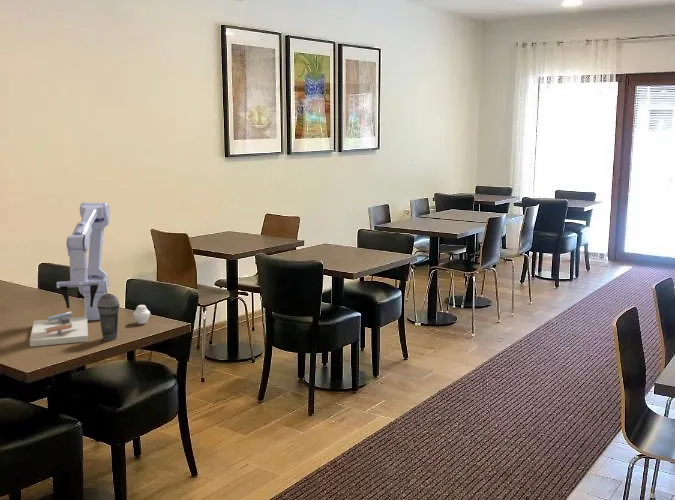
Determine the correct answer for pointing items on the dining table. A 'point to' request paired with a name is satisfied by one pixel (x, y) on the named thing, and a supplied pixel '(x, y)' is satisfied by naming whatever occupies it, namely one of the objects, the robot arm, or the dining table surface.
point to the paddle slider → (65, 320)
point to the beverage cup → (108, 315)
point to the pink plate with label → (59, 327)
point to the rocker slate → (60, 316)
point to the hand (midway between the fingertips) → (79, 307)
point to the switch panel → (59, 332)
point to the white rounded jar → (141, 314)
